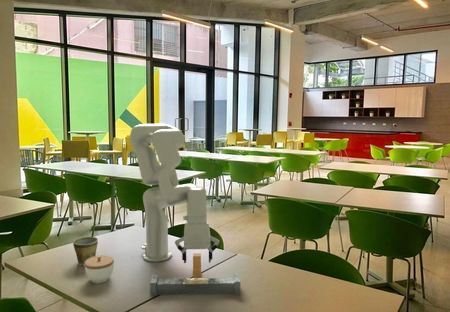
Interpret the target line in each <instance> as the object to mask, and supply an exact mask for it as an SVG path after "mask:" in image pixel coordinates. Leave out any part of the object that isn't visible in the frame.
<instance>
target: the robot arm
mask: <svg viewBox="0 0 450 312" xmlns="http://www.w3.org/2000/svg"><path fill="white" fill-rule="evenodd" d="M129 138H130V139H129V140H130V144H131V147H132V149H133V151H134V153H135V156H136V159H137V163H138V168H139V172H140V176H141V179H142V183H143V184H144V185H146V186H156V185H158V186H156V187H151V188H148V189H147V190H145V192H143V195H142V201H143V206H144V213H145V214H144V215H145V234H146V235H145V238H146V239H145V240H146V243H144V242H143V245H142V246H141V250H144V253H143V256H142V257H143V260H145V261H147V262H152V263H155V262H156V263H158V262H163V261H168V260H169V259H171V257H172V251H170V250H169V237H168V236H169V235H168V234H169V233H168V232H169V229H168V223H169V222H168V221H169V220H168V217H167V214H166V212H165V211H164V208H169V207H174V206H178V205H182V204H183V205H184V204H186V215H184V216H183V219H182V220H183V221H185V224H184V229H183V236H182V237H180V238H178V239H176V240H175V241H174V244H175V245H176V247H177V249H178V250H179V251H180V253H181V258H182V261H183V264H186V263H187V250H207V251H208V263H209V264H210V263H212V262H211V261H212V260H213V252H214V251H215V250H216V249H217V247H218V246H219V245H220V240H219V239H218V238H216V237H214V236H212V235H211V231H210V223H209V221H207V190H206V188H205V187H203V186H198V185H196V184H194V183H184V184H182V183H181V184H180V183H179V178H178V173H177V170H176V168H177V167H179V165H180V164H181V163H182V157H181V154H180V153H179V151H178V149H181V148H182V147H183V146H184V145H185V142H186V137H185V135H184V133H183V132H182V131H181V130H180V129H179V128H177V127H174V126H172V125H170V124H167V123H142V124H138V125H135V126H133V127H132V129H131V130H130V136H129ZM149 144H152V146H153V147H152V146H150V145H149ZM153 148H154V149H153ZM158 160H159V161H158ZM211 241H212V242H213V243H214V244H213V245H212V244H211ZM180 243H183V246H182V245H181V244H180Z"/></svg>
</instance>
